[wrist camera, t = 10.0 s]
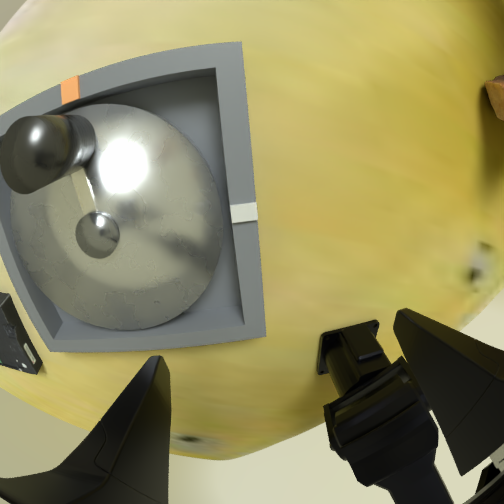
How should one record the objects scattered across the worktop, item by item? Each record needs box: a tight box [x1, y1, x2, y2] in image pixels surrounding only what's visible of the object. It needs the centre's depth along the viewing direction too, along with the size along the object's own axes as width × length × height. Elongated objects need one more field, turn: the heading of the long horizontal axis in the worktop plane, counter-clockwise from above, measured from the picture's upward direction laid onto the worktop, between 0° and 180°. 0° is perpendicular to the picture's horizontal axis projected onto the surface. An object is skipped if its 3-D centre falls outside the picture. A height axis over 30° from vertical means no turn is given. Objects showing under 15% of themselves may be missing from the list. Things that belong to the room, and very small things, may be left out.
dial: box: [0, 104, 223, 330], centre depth 14 cm, size 16×16×7 cm
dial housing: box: [0, 42, 266, 352], centre depth 16 cm, size 20×20×3 cm
